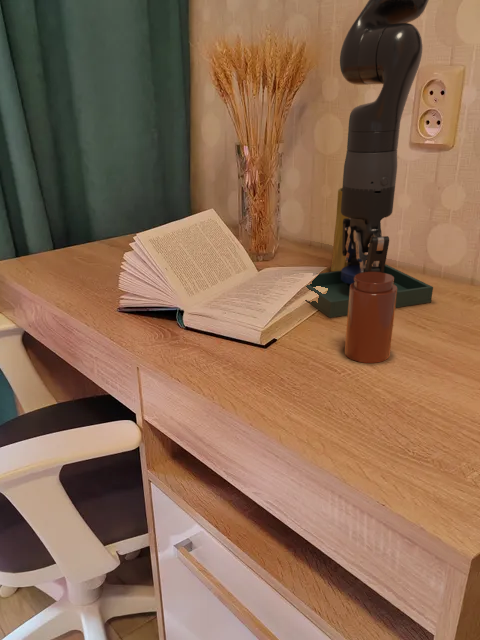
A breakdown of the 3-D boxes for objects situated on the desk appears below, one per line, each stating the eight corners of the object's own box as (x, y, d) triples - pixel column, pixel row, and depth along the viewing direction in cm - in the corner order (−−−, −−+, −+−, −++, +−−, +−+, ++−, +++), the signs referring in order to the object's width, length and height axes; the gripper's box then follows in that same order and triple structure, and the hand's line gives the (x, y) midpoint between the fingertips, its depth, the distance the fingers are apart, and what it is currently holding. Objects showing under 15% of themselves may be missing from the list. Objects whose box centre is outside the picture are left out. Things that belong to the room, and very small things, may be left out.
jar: (373, 342, 80) (380, 268, 75) (398, 358, 75) (408, 280, 71) (336, 349, 79) (341, 274, 74) (360, 366, 74) (367, 287, 69)
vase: (343, 263, 112) (349, 184, 105) (371, 269, 108) (379, 188, 101) (323, 271, 108) (328, 190, 102) (352, 278, 104) (359, 194, 98)
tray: (384, 278, 103) (386, 264, 102) (431, 302, 92) (433, 286, 91) (292, 291, 100) (293, 276, 99) (329, 318, 88) (330, 302, 87)
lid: (337, 283, 94) (337, 274, 93) (345, 272, 98) (345, 263, 98) (375, 287, 91) (376, 277, 91) (381, 275, 96) (382, 266, 95)
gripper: (329, 176, 94) (323, 279, 102) (360, 192, 81) (350, 309, 89) (375, 173, 94) (366, 276, 102) (414, 189, 82) (399, 305, 90)
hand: (359, 291), depth 96 cm, fingers closed on lid, 5 cm apart
